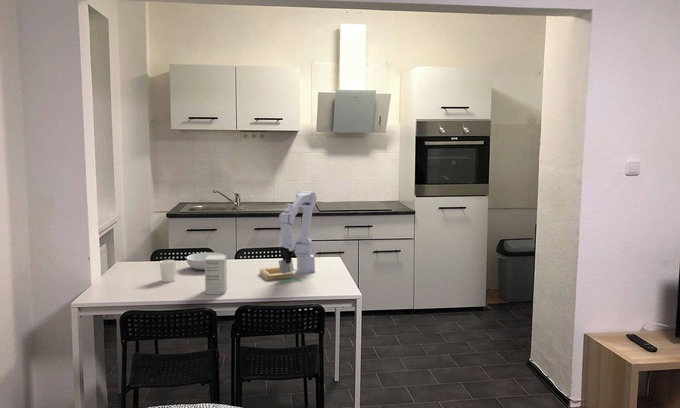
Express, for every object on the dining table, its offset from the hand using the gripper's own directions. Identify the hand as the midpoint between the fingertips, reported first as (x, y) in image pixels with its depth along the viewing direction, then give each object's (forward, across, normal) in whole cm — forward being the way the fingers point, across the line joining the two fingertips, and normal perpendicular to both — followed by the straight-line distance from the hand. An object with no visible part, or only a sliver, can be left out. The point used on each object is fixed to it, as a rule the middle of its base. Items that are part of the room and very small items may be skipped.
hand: (286, 262), depth 288 cm
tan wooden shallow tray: (+9, -10, -3) cm, 14 cm away
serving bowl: (+10, -44, -33) cm, 55 cm away
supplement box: (+10, +6, -38) cm, 39 cm away
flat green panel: (+9, +1, 0) cm, 9 cm away
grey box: (+5, 0, 0) cm, 5 cm away
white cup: (+10, -24, -56) cm, 62 cm away
